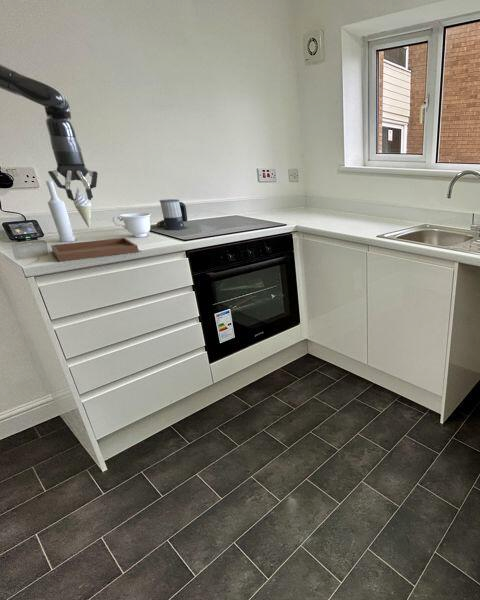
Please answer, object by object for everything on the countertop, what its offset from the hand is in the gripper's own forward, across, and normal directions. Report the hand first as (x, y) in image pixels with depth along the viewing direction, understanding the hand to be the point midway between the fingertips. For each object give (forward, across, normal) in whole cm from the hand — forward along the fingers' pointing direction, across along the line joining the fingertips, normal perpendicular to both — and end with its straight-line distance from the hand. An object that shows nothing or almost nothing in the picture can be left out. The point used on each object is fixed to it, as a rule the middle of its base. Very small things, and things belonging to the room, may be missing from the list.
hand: (81, 199), depth 131 cm
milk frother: (+20, -38, -41) cm, 59 cm away
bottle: (+20, +5, -31) cm, 37 cm away
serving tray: (+20, 0, 0) cm, 20 cm away
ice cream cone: (+10, 0, 0) cm, 10 cm away
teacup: (+20, -19, -25) cm, 37 cm away
